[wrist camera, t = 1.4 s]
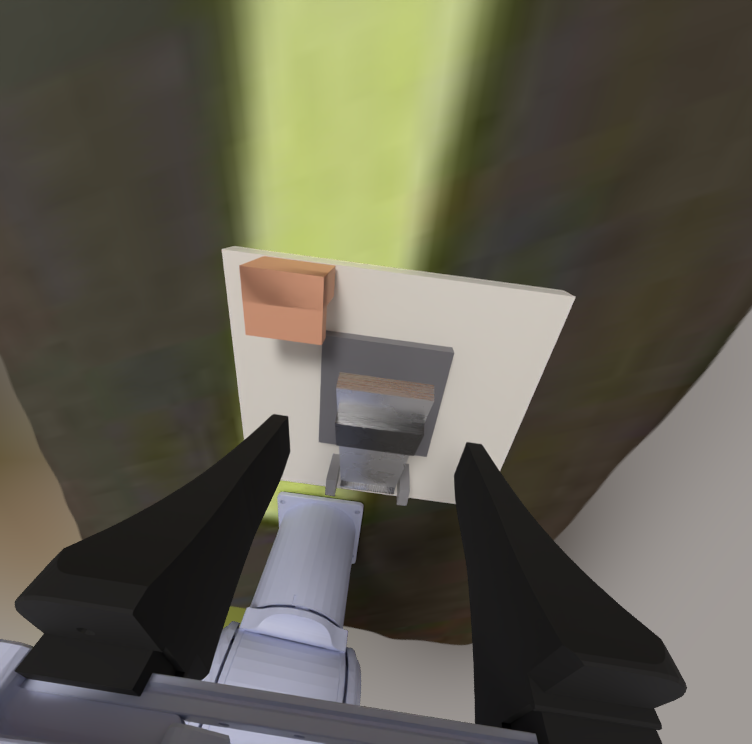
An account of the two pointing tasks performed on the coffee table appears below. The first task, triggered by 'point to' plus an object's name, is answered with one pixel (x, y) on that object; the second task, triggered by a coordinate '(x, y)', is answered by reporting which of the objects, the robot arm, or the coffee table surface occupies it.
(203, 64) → the coffee table surface
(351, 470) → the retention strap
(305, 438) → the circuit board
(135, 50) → the coffee table surface
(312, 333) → the block
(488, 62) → the coffee table surface
